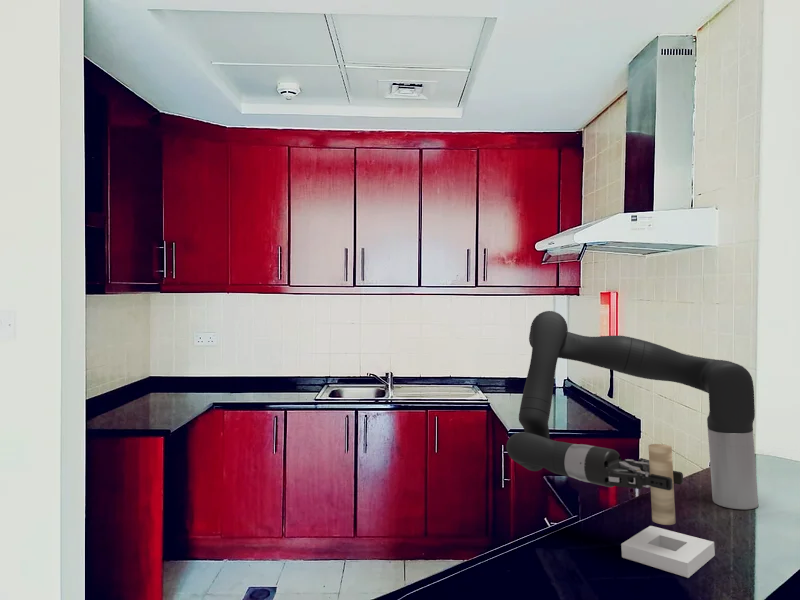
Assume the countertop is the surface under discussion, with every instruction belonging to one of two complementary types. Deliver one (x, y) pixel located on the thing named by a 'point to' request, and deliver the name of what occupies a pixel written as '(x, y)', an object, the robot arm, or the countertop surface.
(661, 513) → the peg
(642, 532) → the socket plate
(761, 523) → the countertop surface
